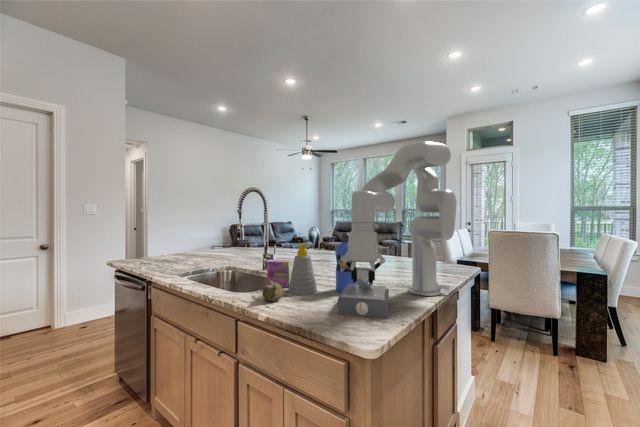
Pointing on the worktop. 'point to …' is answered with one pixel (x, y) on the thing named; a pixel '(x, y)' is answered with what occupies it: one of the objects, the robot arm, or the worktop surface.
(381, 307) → the base
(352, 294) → the pan
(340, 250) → the blue bottle
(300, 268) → the soap bottle
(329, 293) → the worktop surface
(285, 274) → the box
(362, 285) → the cylinder
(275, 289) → the onion
